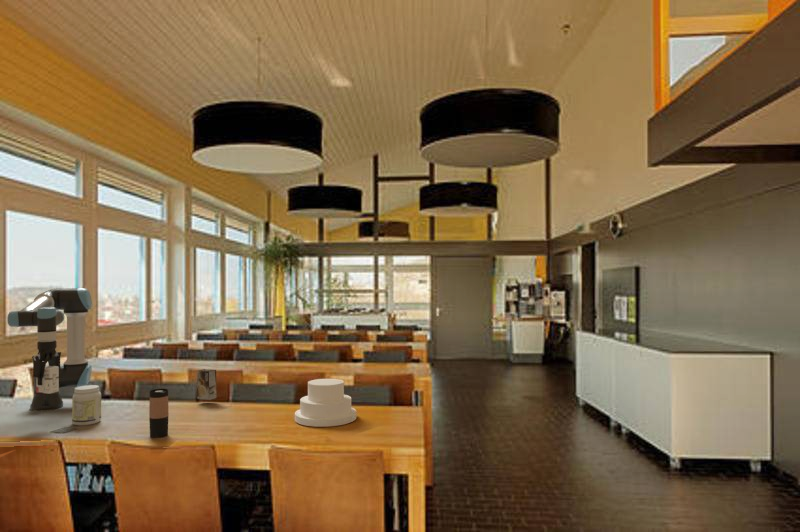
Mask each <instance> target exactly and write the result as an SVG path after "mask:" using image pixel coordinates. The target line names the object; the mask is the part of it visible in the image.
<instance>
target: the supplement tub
mask: <svg viewBox="0 0 800 532" xmlns="http://www.w3.org/2000/svg"><path fill="white" fill-rule="evenodd" d="M73 392H74V393H73V395H72V398H71V399H72V401H71V402H72V403H71V404H72V405H71V406H72V407H71V410H72V411H71V413H72V414H71V417H72V419H71V421H72V424H73V425H75V426H89V425H96V424H97V423H99V422H100V421H101V420H102V393H101V391H100V385H96V384H89V385H88V384H87V385H86V386H80V387H74V391H73Z"/></svg>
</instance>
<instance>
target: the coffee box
mask: <svg viewBox="0 0 800 532" xmlns="http://www.w3.org/2000/svg"><path fill="white" fill-rule="evenodd" d="M196 386H197V387H196V393H197V394H196V396H197V400H207V401H211V400H214V399H217V369H207V368H206V369H205V368H202V369H200V370H197V371H196Z"/></svg>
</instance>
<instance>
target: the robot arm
mask: <svg viewBox="0 0 800 532" xmlns="http://www.w3.org/2000/svg"><path fill="white" fill-rule="evenodd" d="M92 303H93V302H92V295H91V292H90V291H89V290H88V289H87V288H82V287H81V288H79V287H77V288H73V287H72V288H71V287H70V288H53V289H49V290H45V291H44V292H41V293H40V294H38V295H37V296H36V297H34V299H33V301H32V302H30V303H29V304H27V305H25V306H24V307H23V308H22V309H21V310H12V311H9V313H7V318H6V319H7V325H8V326H9V327H11V328H12V327H13V328H23V327H25V328H27V327H37V330H36V331H37V334H36V335H37V336H36V337H37V343H36V344H37V345H36V347H37V348H36V349H37V350H38V351H37V354H36V355H32V357H31V359H32V377H33V391H34V392H33V398H32V400H31V403H30V406H29V410H30V411H33V410H37V411H38V412H39V411H41V410H43V411H49V410H50V411H51V410H56V409H60V408H63V407H64V401H63V398H62V395H61V393H60V392H61V391H60V389H62V388H76V387H80V386H86V385H88V384H89V383H90V380H91V376H92V370H93V369H92V365H91V364H89V361H88V360H87V359H86V356H85V355H86V350H85V349H86V346H85V345H86V343H85V341H86V339H85V338H86V328H85V327H86V315H87V314H88V313H89V310H91V309H92ZM62 310H63V311H62ZM65 317H66V360H65V361H64V362H63V365H61V356H62V351H57V350H56V349H57V326H59V325H61V324H62V323H63V322H64V321H65ZM47 363H48V364H47ZM45 366H58V367H59V391H58V392H55V393H50V394H48V393H37V392H36V378H37V384H38V385H39V392H45V378H43V375H44V370H45Z"/></svg>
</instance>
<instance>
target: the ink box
mask: <svg viewBox="0 0 800 532" xmlns="http://www.w3.org/2000/svg"><path fill="white" fill-rule="evenodd" d="M43 378H45V392H39V385H38V384H37V378H36V392H37V393H48V394H50V393H55V392H58V391H59V367H58V366H45V370H44V375H43Z"/></svg>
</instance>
